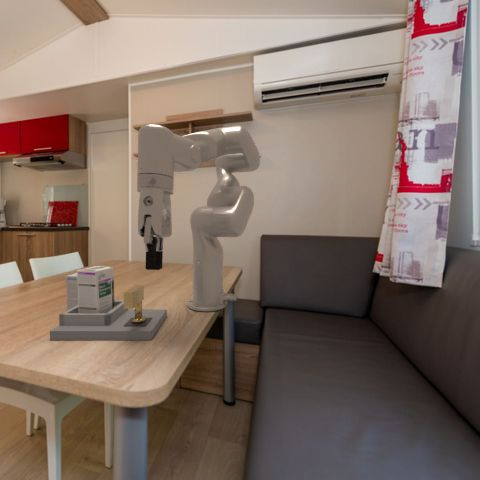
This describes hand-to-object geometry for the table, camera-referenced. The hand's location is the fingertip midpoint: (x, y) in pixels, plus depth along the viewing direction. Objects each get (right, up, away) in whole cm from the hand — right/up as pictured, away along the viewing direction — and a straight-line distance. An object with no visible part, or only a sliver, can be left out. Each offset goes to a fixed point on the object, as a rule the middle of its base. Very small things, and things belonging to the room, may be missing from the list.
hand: (154, 269), depth 54 cm
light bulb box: (-27, -14, +20) cm, 37 cm away
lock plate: (-11, -15, +6) cm, 20 cm away
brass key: (-5, -13, +2) cm, 14 cm away
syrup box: (-17, -15, +8) cm, 24 cm away
